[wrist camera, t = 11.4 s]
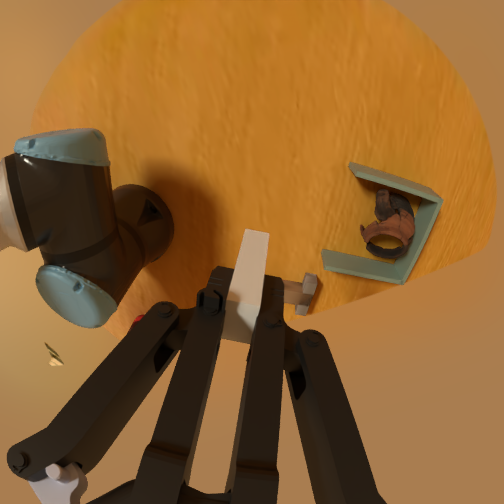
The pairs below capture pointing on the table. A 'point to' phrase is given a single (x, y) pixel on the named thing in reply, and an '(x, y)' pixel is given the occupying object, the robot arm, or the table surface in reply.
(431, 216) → the green u-shaped frame
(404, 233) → the pottery mug
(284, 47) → the table surface
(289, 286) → the hammer
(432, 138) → the table surface
